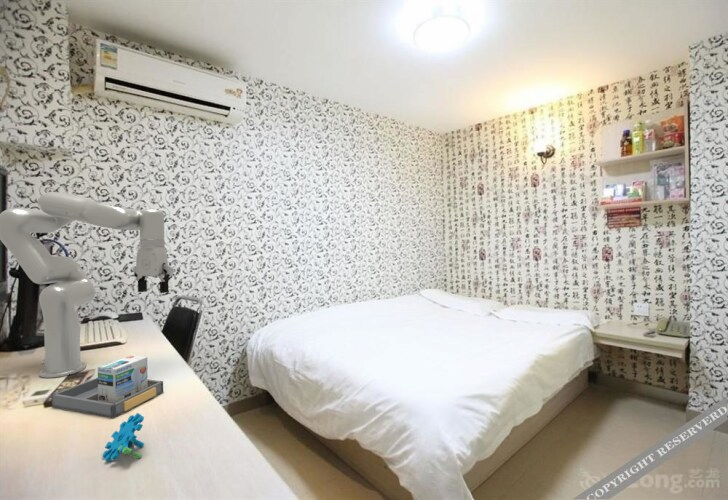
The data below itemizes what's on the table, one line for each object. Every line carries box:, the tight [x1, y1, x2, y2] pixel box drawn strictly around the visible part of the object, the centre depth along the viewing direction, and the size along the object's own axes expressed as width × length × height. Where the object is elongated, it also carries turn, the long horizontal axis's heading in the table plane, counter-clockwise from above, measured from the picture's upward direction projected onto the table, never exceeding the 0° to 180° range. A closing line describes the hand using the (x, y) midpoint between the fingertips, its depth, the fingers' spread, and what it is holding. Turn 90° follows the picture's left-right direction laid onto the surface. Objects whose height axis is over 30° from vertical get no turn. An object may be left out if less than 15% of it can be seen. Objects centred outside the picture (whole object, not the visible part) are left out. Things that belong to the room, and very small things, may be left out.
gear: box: [101, 412, 145, 463], centre depth 77 cm, size 11×6×10 cm
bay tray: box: [51, 376, 164, 419], centre depth 102 cm, size 23×16×4 cm
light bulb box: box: [97, 355, 149, 404], centre depth 101 cm, size 11×7×11 cm, turn 165°
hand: (153, 291), depth 124 cm, fingers open, 9 cm apart
